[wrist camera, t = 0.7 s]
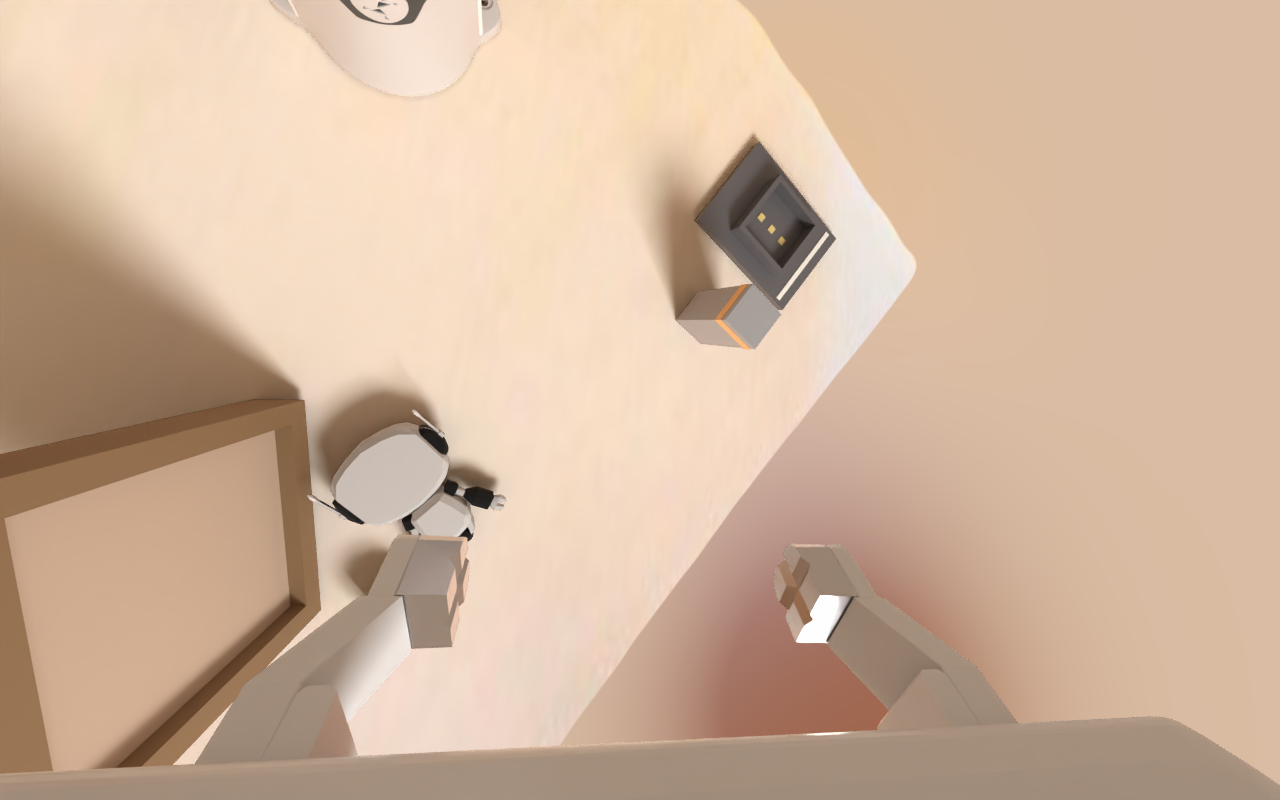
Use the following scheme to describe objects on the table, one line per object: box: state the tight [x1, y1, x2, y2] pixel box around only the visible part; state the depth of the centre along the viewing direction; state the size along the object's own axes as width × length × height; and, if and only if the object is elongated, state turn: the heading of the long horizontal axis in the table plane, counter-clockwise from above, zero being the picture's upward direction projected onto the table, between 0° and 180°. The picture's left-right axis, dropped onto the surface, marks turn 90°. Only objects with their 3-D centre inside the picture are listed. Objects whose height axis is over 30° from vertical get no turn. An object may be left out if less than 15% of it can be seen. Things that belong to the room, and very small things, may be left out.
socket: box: [695, 142, 836, 310], centre depth 55 cm, size 16×12×3 cm
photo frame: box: [0, 399, 321, 774], centre depth 31 cm, size 15×22×25 cm
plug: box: [676, 284, 781, 349], centre depth 50 cm, size 5×5×12 cm
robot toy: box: [307, 410, 506, 541], centre depth 47 cm, size 12×4×15 cm
